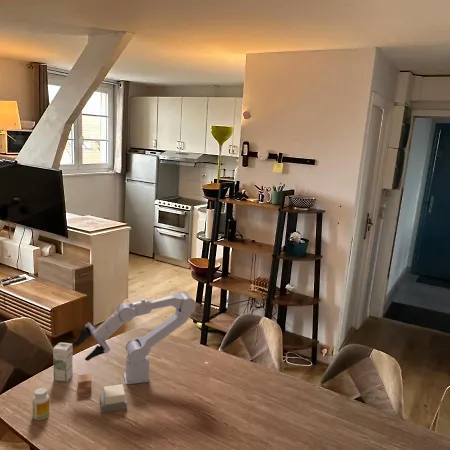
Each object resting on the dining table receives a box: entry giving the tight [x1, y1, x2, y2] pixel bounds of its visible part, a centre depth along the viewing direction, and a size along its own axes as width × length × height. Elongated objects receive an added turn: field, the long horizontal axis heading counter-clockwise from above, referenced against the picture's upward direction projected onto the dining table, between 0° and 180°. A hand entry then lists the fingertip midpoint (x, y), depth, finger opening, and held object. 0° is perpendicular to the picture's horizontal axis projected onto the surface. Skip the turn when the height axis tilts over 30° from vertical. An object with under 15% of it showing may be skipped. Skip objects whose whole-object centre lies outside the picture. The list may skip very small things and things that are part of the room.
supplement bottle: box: [32, 387, 50, 421], centre depth 148 cm, size 5×5×10 cm
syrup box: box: [52, 342, 74, 383], centre depth 171 cm, size 6×6×14 cm
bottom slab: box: [99, 390, 128, 413], centre depth 159 cm, size 9×9×3 cm
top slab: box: [103, 383, 126, 405], centre depth 158 cm, size 7×7×3 cm
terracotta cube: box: [77, 373, 92, 394], centre depth 166 cm, size 5×5×5 cm
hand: (81, 352), depth 164 cm, fingers open, 7 cm apart
